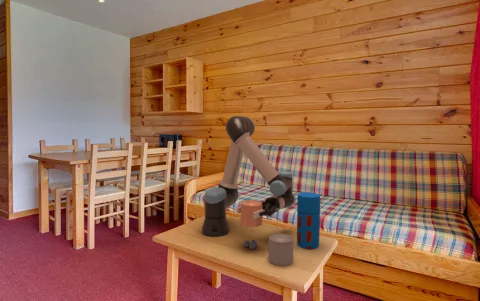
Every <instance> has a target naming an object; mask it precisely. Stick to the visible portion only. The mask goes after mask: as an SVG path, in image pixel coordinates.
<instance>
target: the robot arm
mask: <svg viewBox="0 0 480 301" xmlns="http://www.w3.org/2000/svg"><path fill="white" fill-rule="evenodd" d="M255 128H256V126H255V122H254V121H253V120H252V118H250V117H247V116H246V115H245V116H242V115H241V116H239V115H234V116H230V117H229V119H228V120H226V123H225V132H226V133H227V135H228V137H229V138H228V139H230V144H229V150H228V154H227V158H226V161H225V162H226V163H225V167H224V171H223V176H222V180H220V181H219V182H218V185H217V186H218V187H212V188H211V187H210V188H208V189H207V190H206V191H205V192H204V197H203V198H204V220H203V223H202V227H201V234H202V235H204V236H207V237H221V236H225V235H227V234H229V233H230V227H229V224H228V223H229V222H228V219H227V209H228V208H229V207H231V206H233V205H234V204H235V203H236V202H237V201H238V199H239V191H238V190H239V185H238V184H237V182H238V178H239V175H240V169H241V165H242V162H243V158H244V155H245V156H246V157H247V159H248V160H249V161H250V162H251V164H252V165H253V166H254V168H255V169H256V170H257V172H258V173H259V174H260V175H261V177H262V179H264V181H265V183H266V184H267V185H268V186H269V191H270V193H271V194H272V195H273V196H271V197H268V198H266V199H265V200H264V201H261V202H262V210H260V211H256V212H253V218H254V219H255V218H258V217H261V216H262V217H263V216H268V217H271V216H273V215H274V214H275V213H278V212H279V211H280V210H283V209H286V208H290V207H292V206H293V205H295V204H296V202H297V199H296V195H295V194H294V193H293V180H294V178H293V173H292V172H290V171H279V172H278V171H277V170H276V168H275V167H274V166H273V164H272V163H271V162H270V160H269V159H268V158H267V156H266V155H265V154H264V152H262V150H261V149H260V148H259V146H258V145H257V144H256V143H255V141H254V140H253V139H252V137H251V136H252V135H253V134H254V132H255V130H256V129H255ZM235 209H236V210H235V211H236V213H235V214H241V206H238V207H236V208H235Z"/></svg>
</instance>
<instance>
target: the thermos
mask: <svg viewBox="0 0 480 301" xmlns="http://www.w3.org/2000/svg"><path fill="white" fill-rule="evenodd" d="M296 202H297V208H296V209H297V212H296V213H297V214H296V244H297V247H299V248H302V249H305V250H315V249H318V248H319V245H320V231H321V230H320V229H321V228H320V224H321V220H320V219H321V195H320V194H318V193H315V192H300V193H298V194H297V199H296Z"/></svg>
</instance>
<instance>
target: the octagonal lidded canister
mask: <svg viewBox="0 0 480 301" xmlns="http://www.w3.org/2000/svg"><path fill="white" fill-rule="evenodd" d="M262 202H263V201H259V200H256V199H255V200H254V199H253V200H252V199H250V200H249V199H248V200H242V201H241V202H240V207H241V213H240V226H243V227H245V228H257V227H260V226H263V216H261V217H258V218H255V219H254V218H253V212H256V211H260V210H262Z"/></svg>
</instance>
